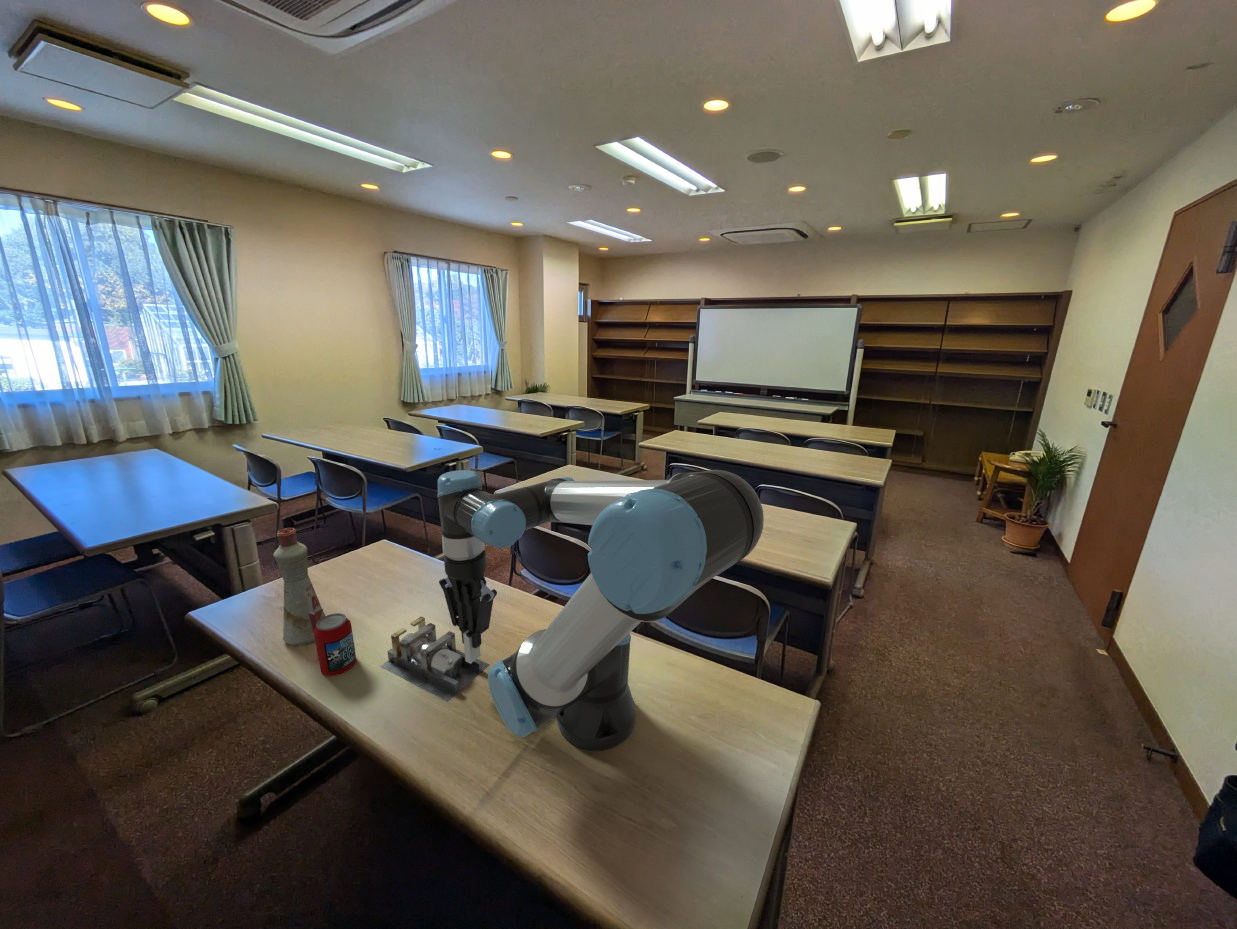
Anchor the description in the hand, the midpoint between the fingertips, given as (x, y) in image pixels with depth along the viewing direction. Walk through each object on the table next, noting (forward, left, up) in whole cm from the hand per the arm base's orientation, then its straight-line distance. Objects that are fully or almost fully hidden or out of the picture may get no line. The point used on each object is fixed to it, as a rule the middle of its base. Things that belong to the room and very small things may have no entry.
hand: (473, 658), depth 94 cm
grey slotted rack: (+12, 0, -8) cm, 14 cm away
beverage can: (+30, +10, -8) cm, 32 cm away
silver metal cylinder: (+13, 0, -7) cm, 14 cm away
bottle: (+47, +7, -8) cm, 48 cm away
